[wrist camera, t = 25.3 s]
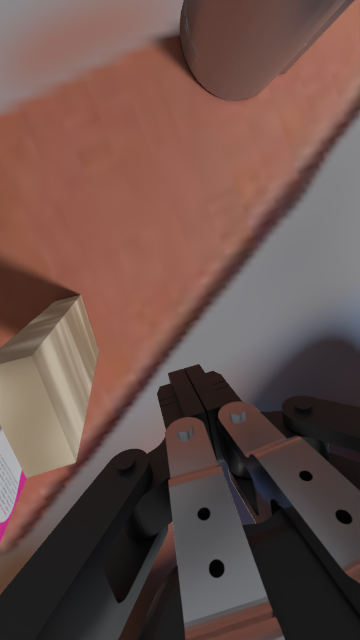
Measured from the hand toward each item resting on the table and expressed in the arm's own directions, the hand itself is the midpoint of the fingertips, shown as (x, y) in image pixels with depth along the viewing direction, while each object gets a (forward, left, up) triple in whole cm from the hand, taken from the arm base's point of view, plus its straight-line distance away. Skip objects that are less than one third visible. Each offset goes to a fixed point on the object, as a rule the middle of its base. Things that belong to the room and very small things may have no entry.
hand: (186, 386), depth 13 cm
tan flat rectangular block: (+7, 0, -16) cm, 18 cm away
